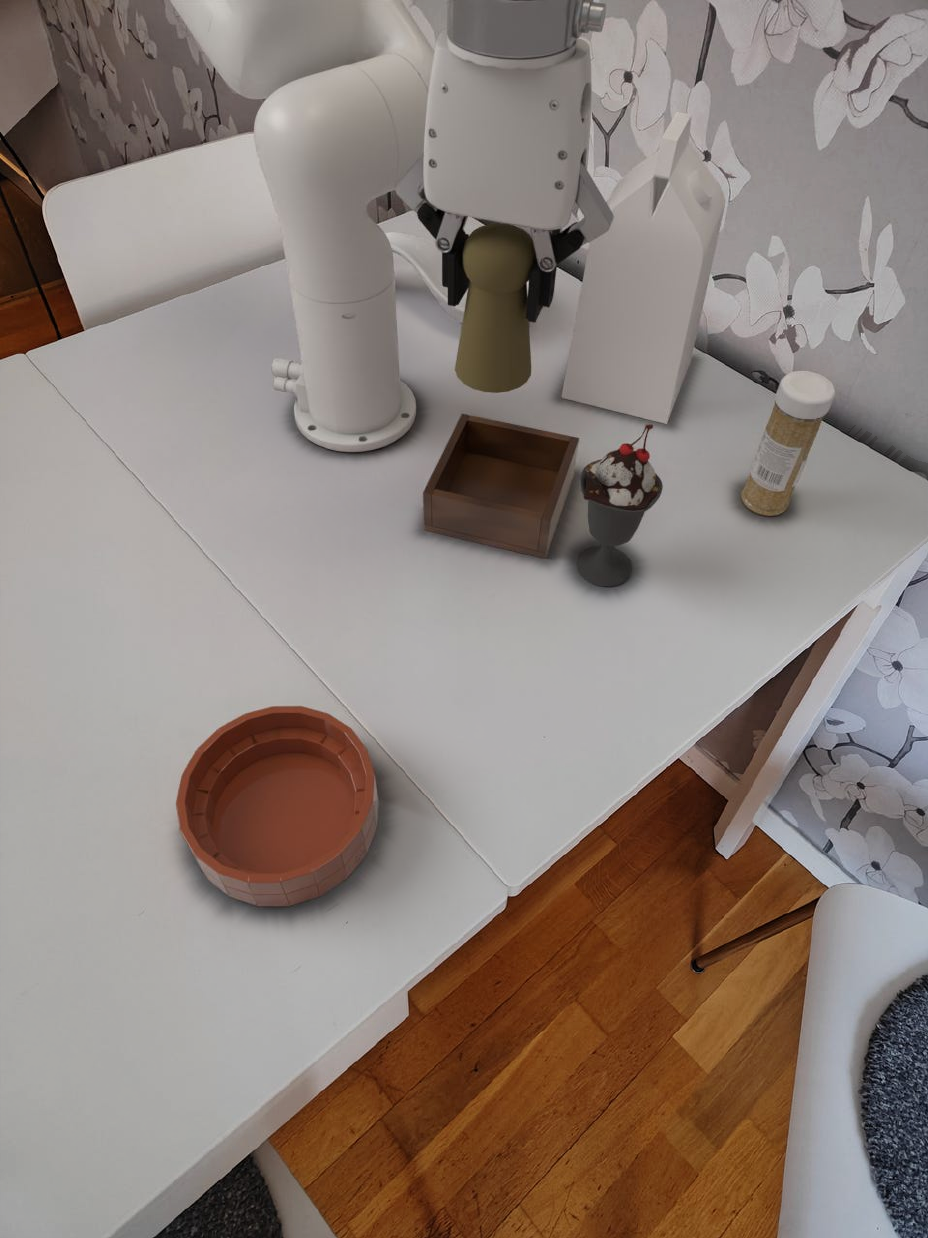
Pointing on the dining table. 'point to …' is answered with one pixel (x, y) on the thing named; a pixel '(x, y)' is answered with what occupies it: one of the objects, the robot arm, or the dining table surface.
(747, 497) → the sprinkles bottle
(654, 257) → the milk
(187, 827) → the bowl
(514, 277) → the olive brown knobbed cylinder
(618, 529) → the sundae
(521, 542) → the holder
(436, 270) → the spoon rest
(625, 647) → the dining table surface
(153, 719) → the dining table surface
